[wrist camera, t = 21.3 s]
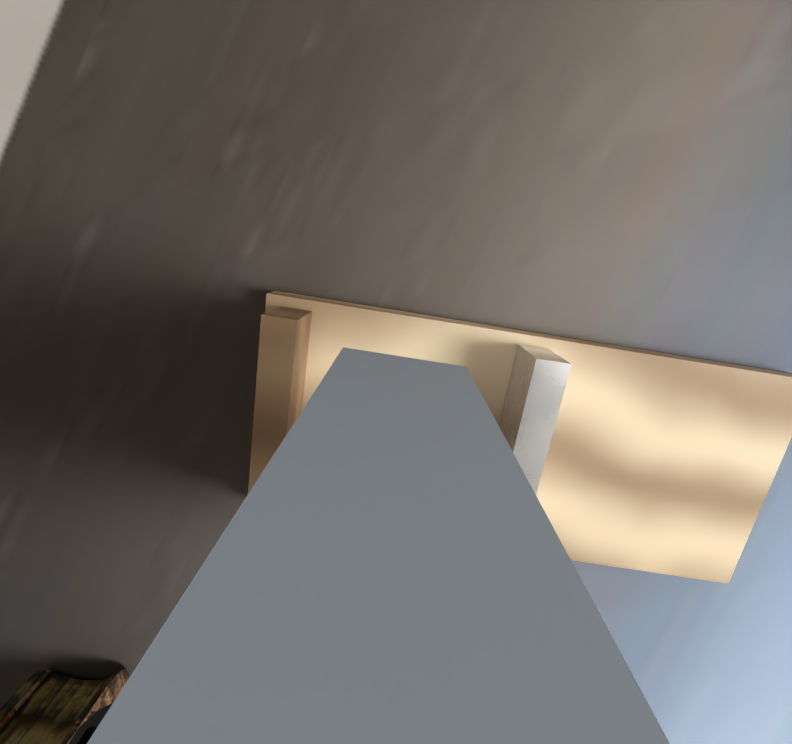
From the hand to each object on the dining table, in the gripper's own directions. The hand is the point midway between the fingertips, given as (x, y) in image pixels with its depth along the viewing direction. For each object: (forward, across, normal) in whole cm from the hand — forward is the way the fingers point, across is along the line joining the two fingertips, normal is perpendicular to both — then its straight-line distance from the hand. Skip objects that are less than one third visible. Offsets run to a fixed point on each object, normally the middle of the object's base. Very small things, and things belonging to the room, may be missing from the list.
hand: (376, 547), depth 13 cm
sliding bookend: (+9, -6, 0) cm, 11 cm away
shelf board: (+11, -7, 0) cm, 13 cm away
